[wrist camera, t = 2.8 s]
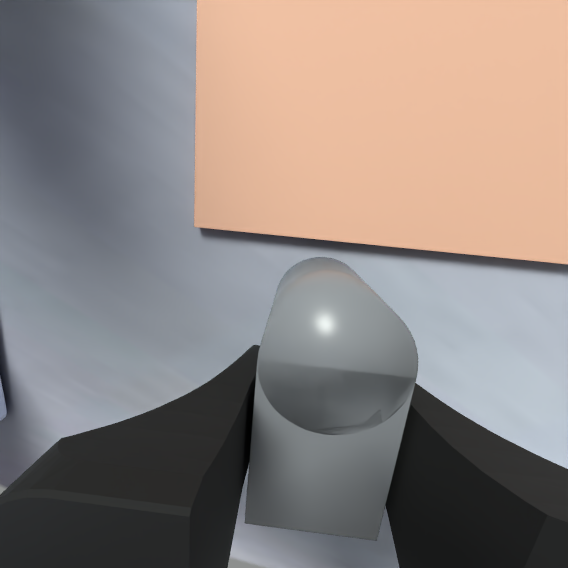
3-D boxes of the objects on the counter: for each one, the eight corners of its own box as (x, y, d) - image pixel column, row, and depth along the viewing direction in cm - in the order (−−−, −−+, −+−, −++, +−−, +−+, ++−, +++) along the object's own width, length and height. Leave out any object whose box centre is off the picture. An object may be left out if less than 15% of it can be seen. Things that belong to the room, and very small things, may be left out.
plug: (262, 438, 13) (240, 574, 8) (279, 252, 11) (263, 283, 6) (339, 447, 13) (364, 591, 8) (372, 262, 10) (434, 301, 6)
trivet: (199, 226, 11) (194, 226, 10) (208, -323, 7) (201, -363, 7) (569, 263, 10) (583, 265, 10) (773, -300, 7) (810, -341, 6)
